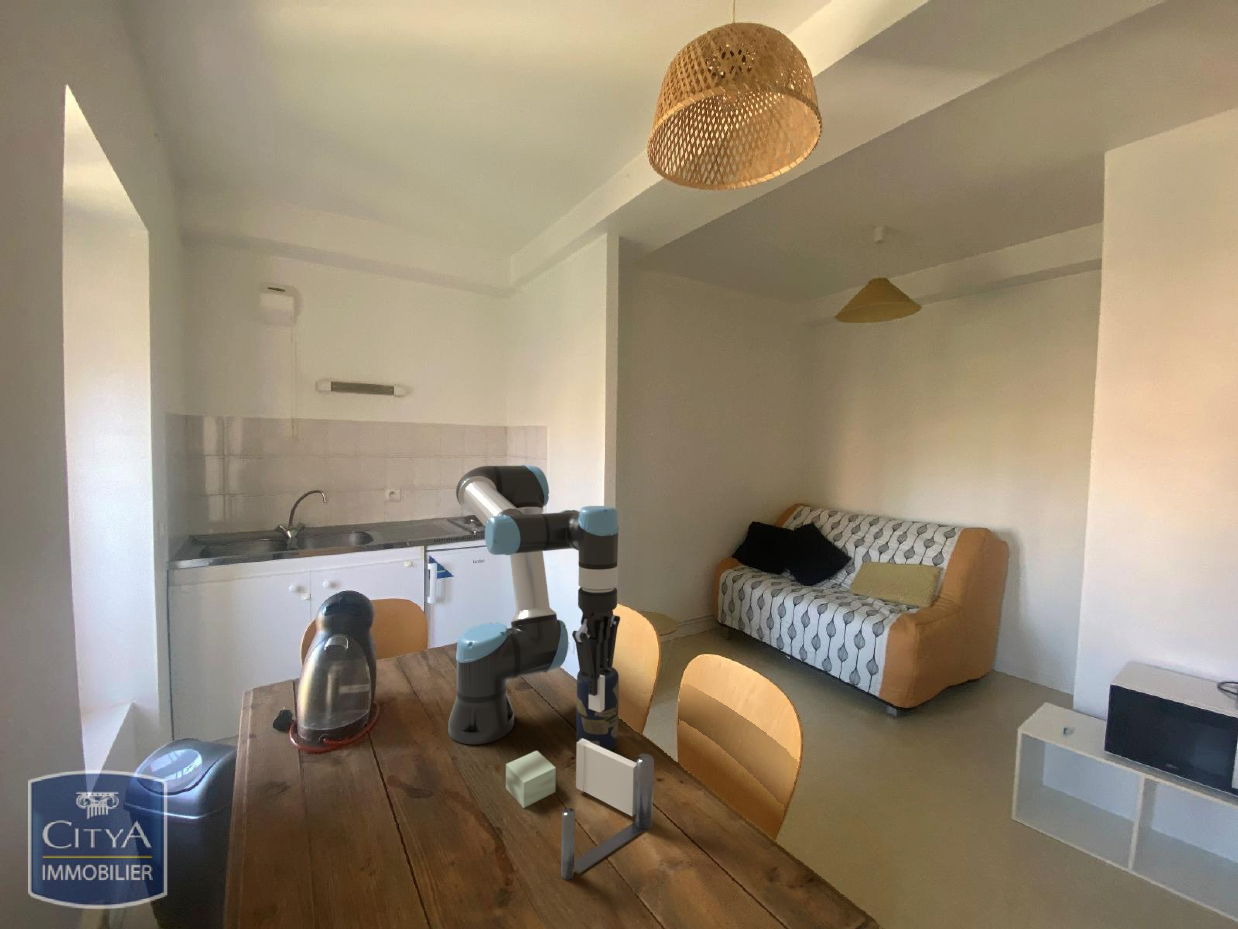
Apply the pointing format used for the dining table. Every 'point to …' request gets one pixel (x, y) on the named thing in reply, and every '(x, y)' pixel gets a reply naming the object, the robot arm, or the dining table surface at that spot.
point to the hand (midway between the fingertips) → (596, 708)
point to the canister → (598, 713)
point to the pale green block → (530, 778)
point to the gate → (606, 776)
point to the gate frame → (619, 839)
